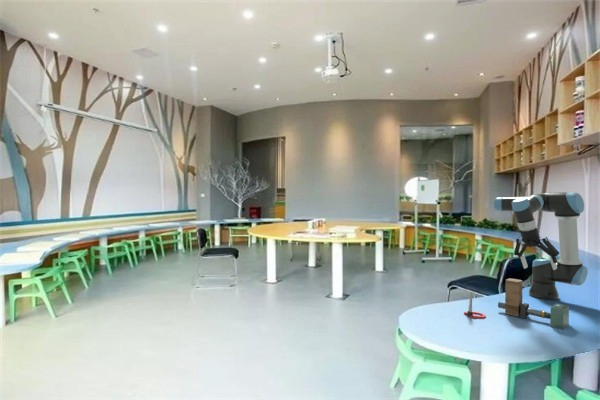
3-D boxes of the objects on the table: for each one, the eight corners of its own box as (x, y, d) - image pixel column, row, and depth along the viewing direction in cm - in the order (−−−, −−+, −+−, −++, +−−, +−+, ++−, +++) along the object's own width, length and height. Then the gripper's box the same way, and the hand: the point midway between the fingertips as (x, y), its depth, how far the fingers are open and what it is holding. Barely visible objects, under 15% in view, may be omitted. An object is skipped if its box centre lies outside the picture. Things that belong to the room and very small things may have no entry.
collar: (524, 314, 178) (524, 302, 177) (528, 315, 176) (528, 303, 176) (520, 317, 174) (520, 305, 174) (525, 318, 172) (525, 306, 172)
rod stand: (502, 309, 187) (502, 292, 187) (568, 324, 165) (568, 305, 165) (495, 313, 181) (495, 296, 181) (563, 329, 159) (563, 310, 159)
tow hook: (476, 313, 182) (462, 314, 179) (477, 288, 182) (463, 289, 179) (489, 318, 174) (475, 319, 171) (491, 293, 174) (476, 293, 171)
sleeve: (509, 311, 183) (509, 278, 183) (522, 314, 178) (522, 280, 178) (505, 313, 179) (505, 279, 179) (518, 316, 174) (518, 282, 174)
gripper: (499, 232, 182) (511, 269, 183) (552, 230, 161) (565, 272, 161) (506, 227, 186) (518, 264, 187) (559, 224, 164) (571, 266, 165)
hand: (540, 268), depth 174 cm, fingers open, 13 cm apart
